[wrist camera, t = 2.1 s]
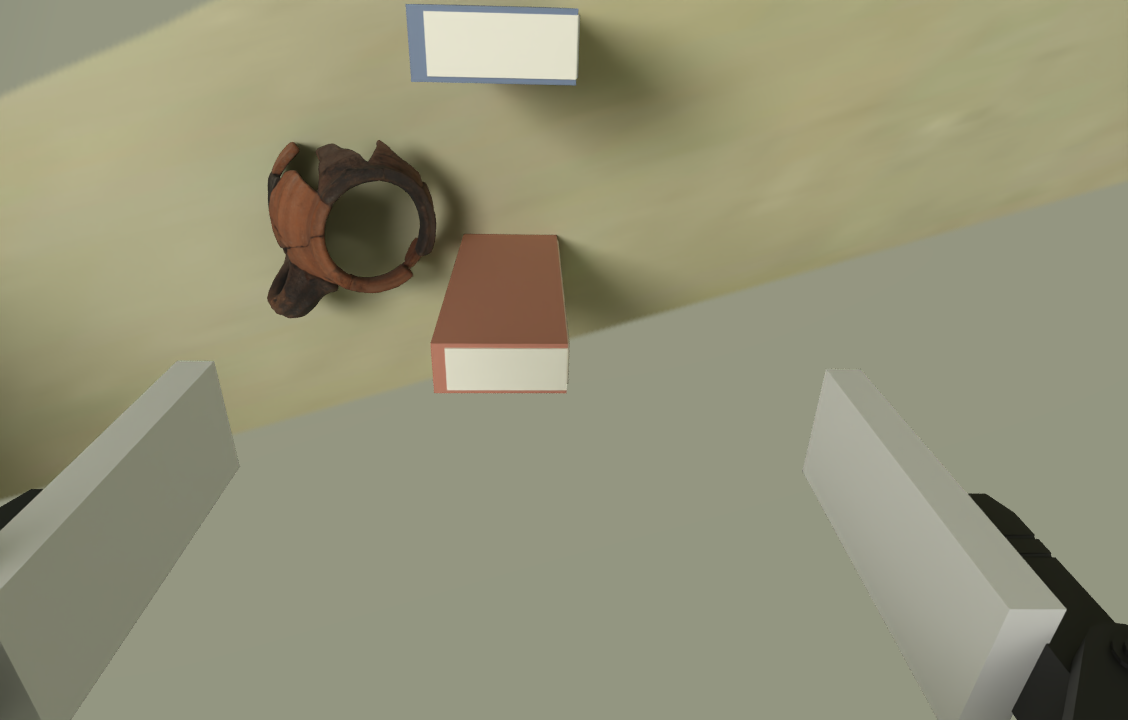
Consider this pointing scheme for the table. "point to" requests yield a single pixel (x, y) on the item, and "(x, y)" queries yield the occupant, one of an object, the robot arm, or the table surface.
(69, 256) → the table surface
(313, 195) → the pottery mug
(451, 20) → the navy book
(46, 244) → the table surface
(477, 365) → the brick red book
